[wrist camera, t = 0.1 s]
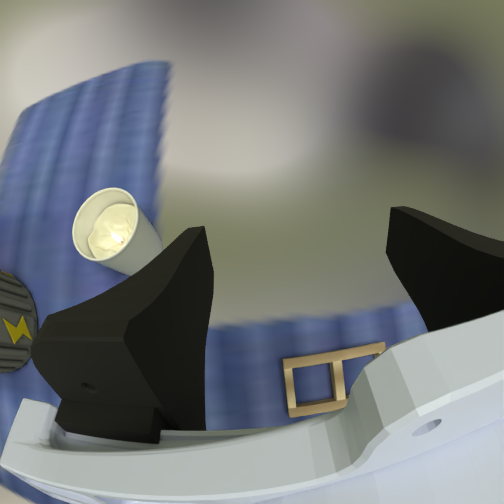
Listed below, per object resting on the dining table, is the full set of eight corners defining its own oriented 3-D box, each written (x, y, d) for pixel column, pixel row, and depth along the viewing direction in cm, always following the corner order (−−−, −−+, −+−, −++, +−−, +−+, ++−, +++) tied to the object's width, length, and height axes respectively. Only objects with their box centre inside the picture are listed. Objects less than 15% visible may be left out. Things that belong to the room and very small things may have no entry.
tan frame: (384, 395, 37) (390, 397, 35) (288, 413, 38) (289, 417, 35) (378, 342, 40) (384, 341, 38) (282, 358, 40) (283, 359, 38)
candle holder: (106, 276, 45) (63, 254, 34) (121, 219, 48) (86, 185, 37) (160, 287, 44) (125, 266, 33) (174, 226, 47) (147, 189, 36)
